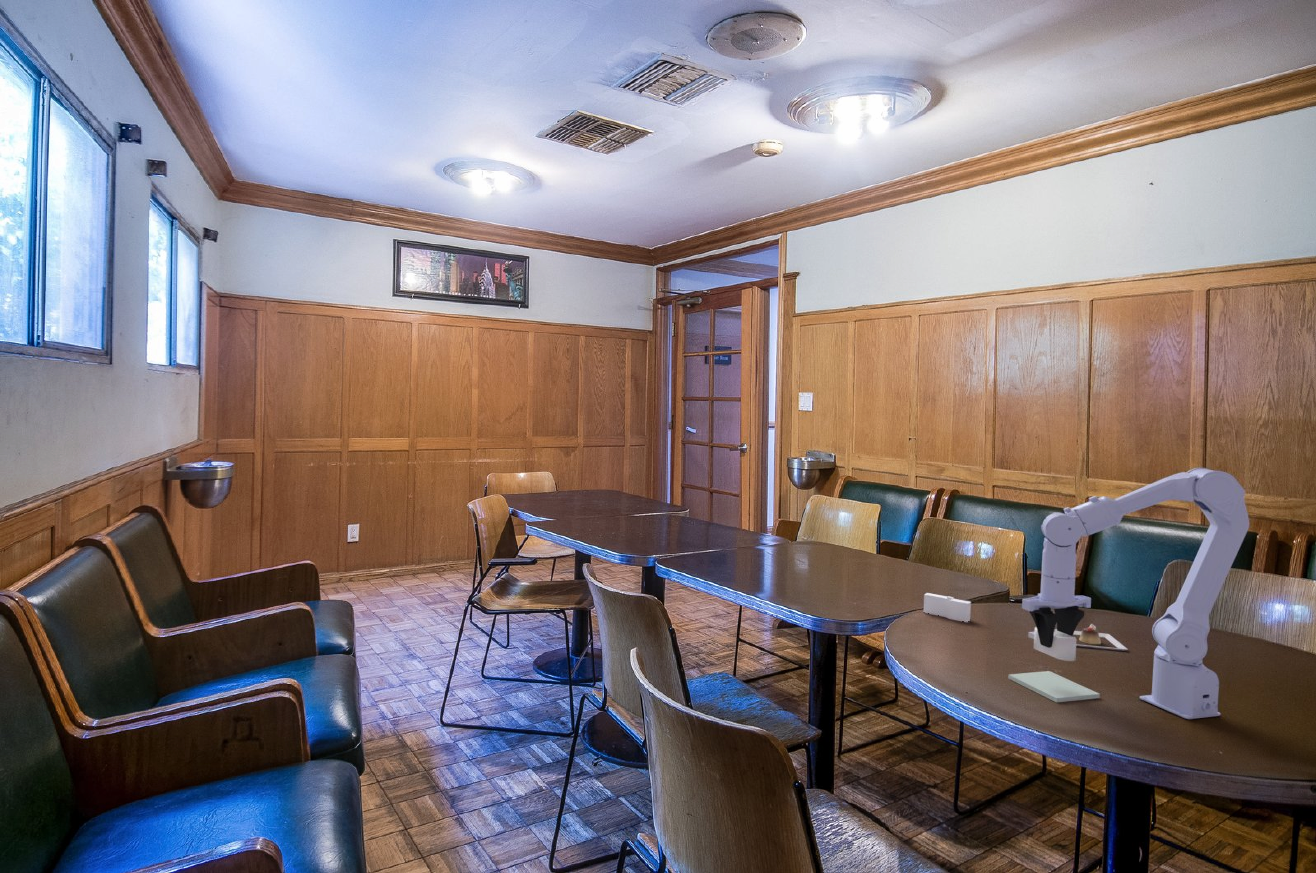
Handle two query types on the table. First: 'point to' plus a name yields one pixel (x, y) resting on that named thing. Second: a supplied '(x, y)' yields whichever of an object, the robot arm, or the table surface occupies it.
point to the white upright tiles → (947, 607)
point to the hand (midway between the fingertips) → (1054, 645)
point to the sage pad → (1053, 686)
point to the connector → (1057, 645)
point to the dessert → (1096, 638)
